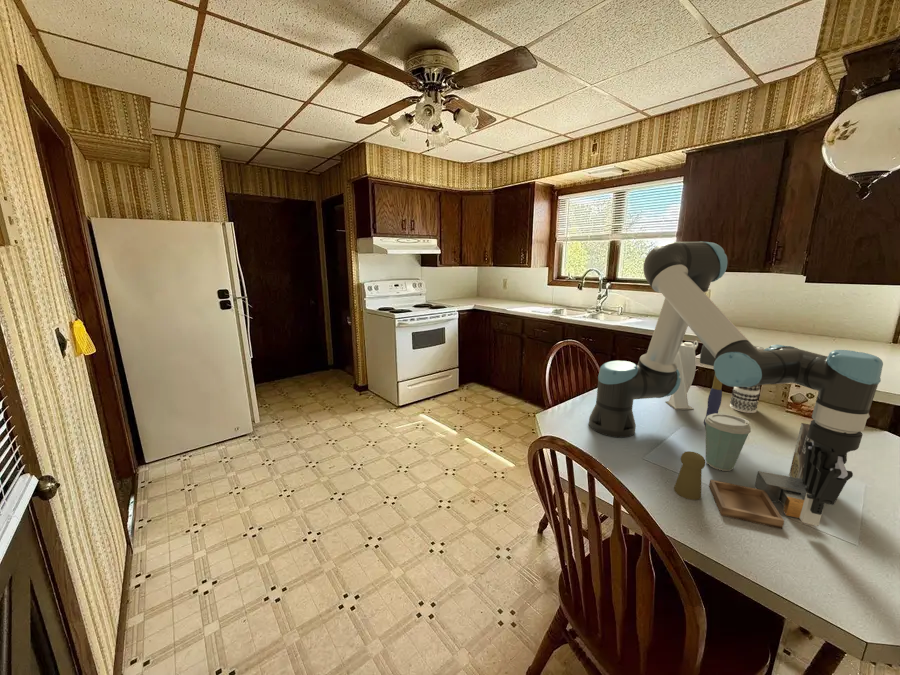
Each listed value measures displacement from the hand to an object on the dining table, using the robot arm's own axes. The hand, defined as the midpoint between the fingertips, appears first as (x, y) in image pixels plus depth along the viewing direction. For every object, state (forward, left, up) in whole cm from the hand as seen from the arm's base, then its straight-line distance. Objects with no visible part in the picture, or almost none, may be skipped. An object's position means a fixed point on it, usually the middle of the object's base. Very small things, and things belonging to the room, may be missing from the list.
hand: (808, 521), depth 82 cm
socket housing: (0, +13, -3) cm, 13 cm away
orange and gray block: (0, +10, -2) cm, 10 cm away
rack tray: (-10, +5, -3) cm, 12 cm away
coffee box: (+8, +21, -3) cm, 22 cm away
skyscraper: (-15, +66, -3) cm, 67 cm away
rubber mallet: (-8, +50, -3) cm, 50 cm away
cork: (-22, +6, -3) cm, 23 cm away
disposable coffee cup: (-11, +24, -3) cm, 26 cm away
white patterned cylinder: (+8, +74, -3) cm, 74 cm away
